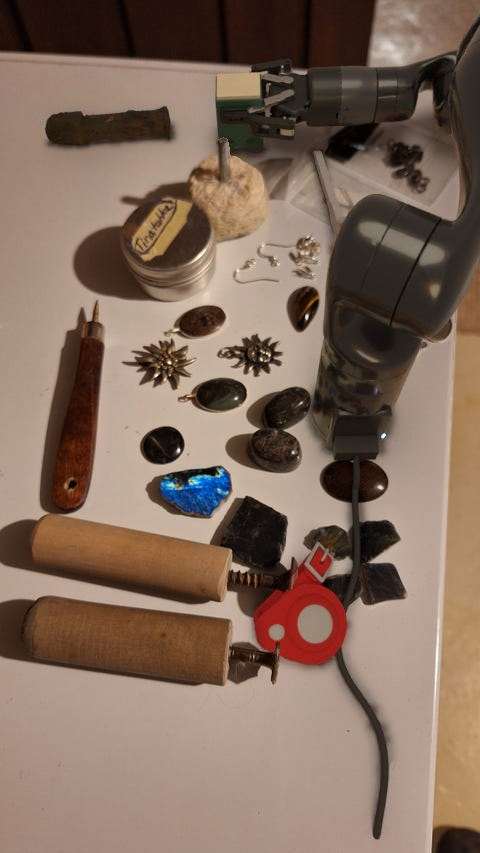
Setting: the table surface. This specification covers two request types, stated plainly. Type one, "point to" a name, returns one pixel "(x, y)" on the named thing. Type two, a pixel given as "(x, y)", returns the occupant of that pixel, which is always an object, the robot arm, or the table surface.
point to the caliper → (329, 193)
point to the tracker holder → (304, 615)
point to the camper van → (238, 93)
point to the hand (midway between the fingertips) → (220, 100)
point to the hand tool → (107, 125)
